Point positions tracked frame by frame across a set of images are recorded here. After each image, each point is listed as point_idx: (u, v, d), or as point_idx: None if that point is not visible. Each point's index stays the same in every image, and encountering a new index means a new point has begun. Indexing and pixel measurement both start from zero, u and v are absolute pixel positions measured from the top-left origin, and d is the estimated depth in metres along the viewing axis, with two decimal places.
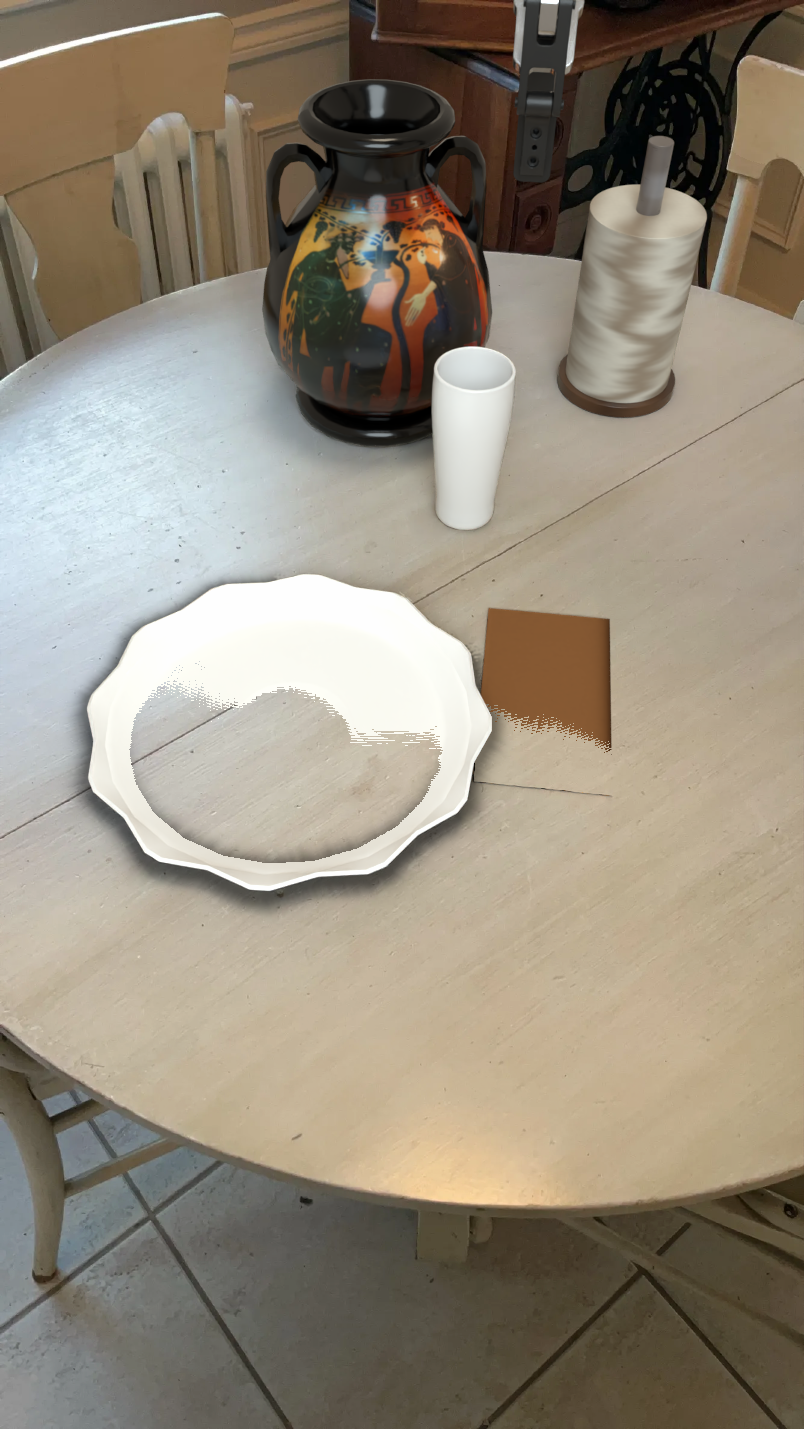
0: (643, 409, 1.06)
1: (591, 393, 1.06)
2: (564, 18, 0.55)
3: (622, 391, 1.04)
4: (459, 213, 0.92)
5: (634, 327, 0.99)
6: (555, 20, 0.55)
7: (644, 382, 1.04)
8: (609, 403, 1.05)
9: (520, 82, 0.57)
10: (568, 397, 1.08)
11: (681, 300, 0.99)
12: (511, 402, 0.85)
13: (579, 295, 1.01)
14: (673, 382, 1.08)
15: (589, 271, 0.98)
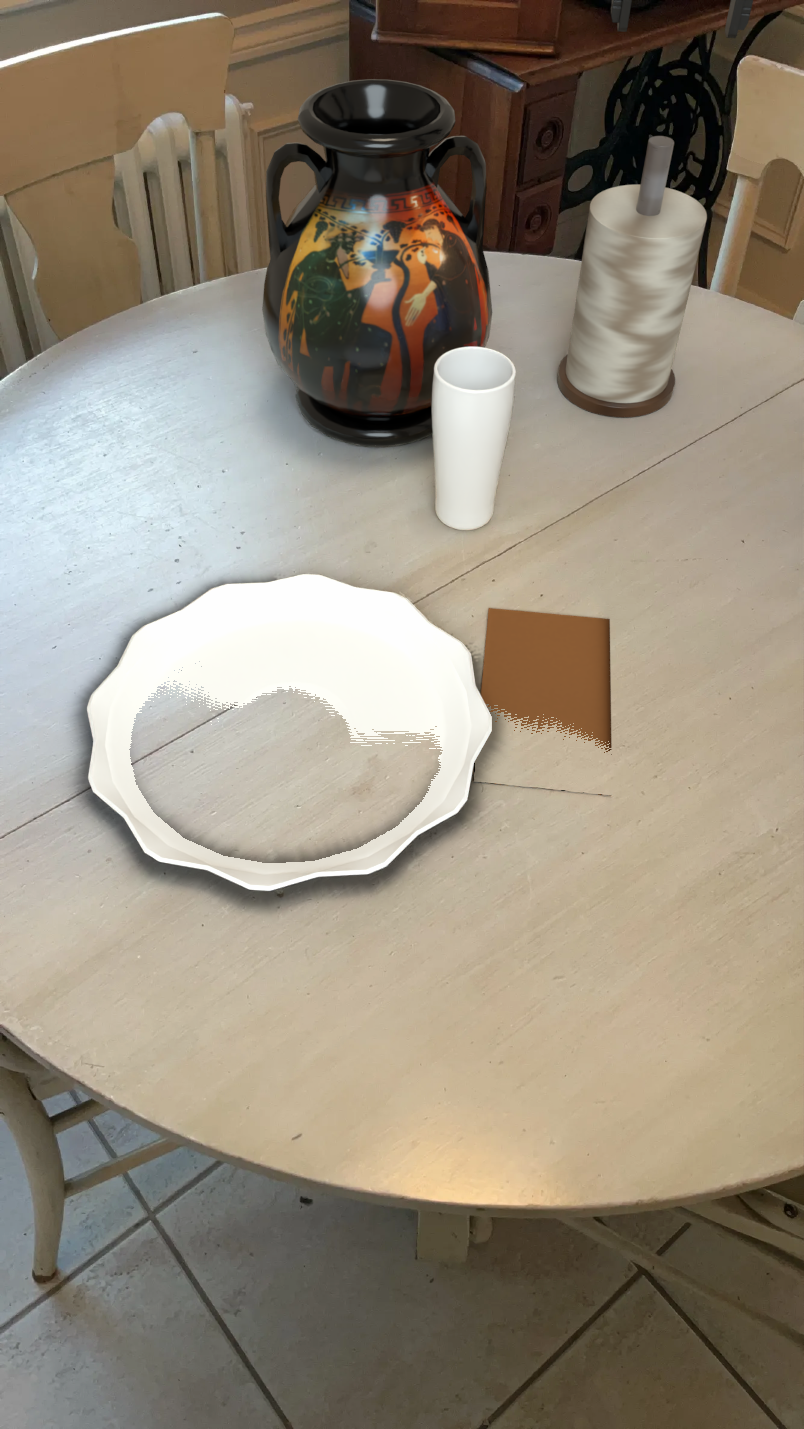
0: (643, 409, 1.06)
1: (591, 393, 1.06)
2: None
3: (622, 391, 1.04)
4: (459, 213, 0.92)
5: (634, 327, 0.99)
6: None
7: (644, 382, 1.04)
8: (609, 403, 1.05)
9: None
10: (568, 397, 1.08)
11: (681, 300, 0.99)
12: (511, 402, 0.85)
13: (579, 295, 1.01)
14: (673, 382, 1.08)
15: (589, 271, 0.98)
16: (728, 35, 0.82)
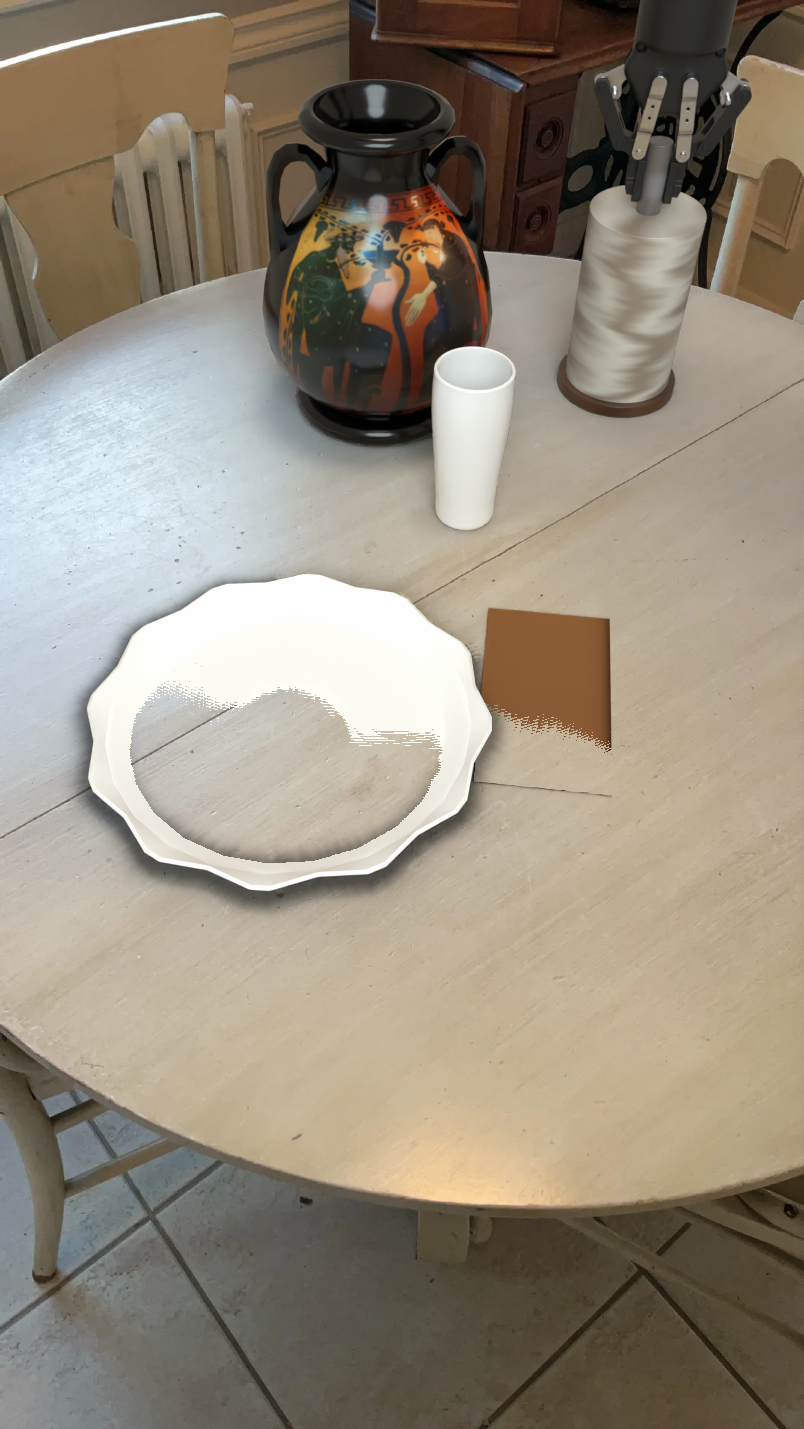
0: (643, 409, 1.06)
1: (591, 393, 1.06)
2: None
3: (622, 391, 1.04)
4: (459, 213, 0.92)
5: (634, 327, 0.99)
6: None
7: (644, 382, 1.04)
8: (609, 403, 1.05)
9: None
10: (568, 397, 1.08)
11: (681, 300, 0.99)
12: (511, 402, 0.85)
13: (579, 295, 1.01)
14: (673, 382, 1.08)
15: (589, 271, 0.98)
16: (663, 202, 0.94)
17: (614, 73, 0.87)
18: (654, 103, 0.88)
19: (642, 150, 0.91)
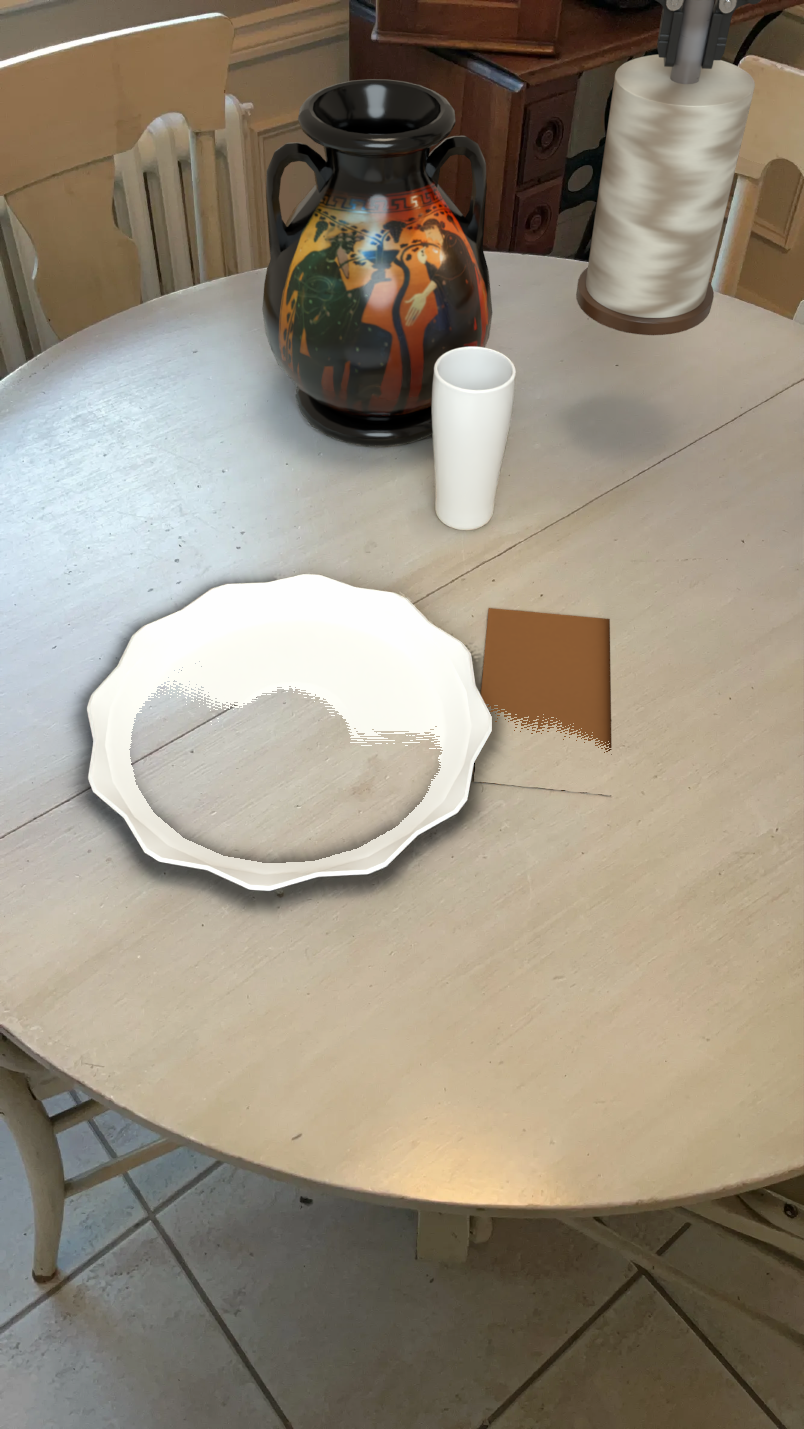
0: (676, 325, 0.90)
1: (616, 307, 0.91)
2: None
3: (652, 303, 0.89)
4: (459, 213, 0.92)
5: (667, 221, 0.84)
6: None
7: (678, 292, 0.89)
8: (636, 318, 0.90)
9: None
10: (588, 314, 0.92)
11: (723, 189, 0.84)
12: (511, 402, 0.85)
13: (602, 187, 0.86)
14: (712, 296, 0.93)
15: (614, 154, 0.83)
16: (703, 66, 0.79)
17: None
18: None
19: None
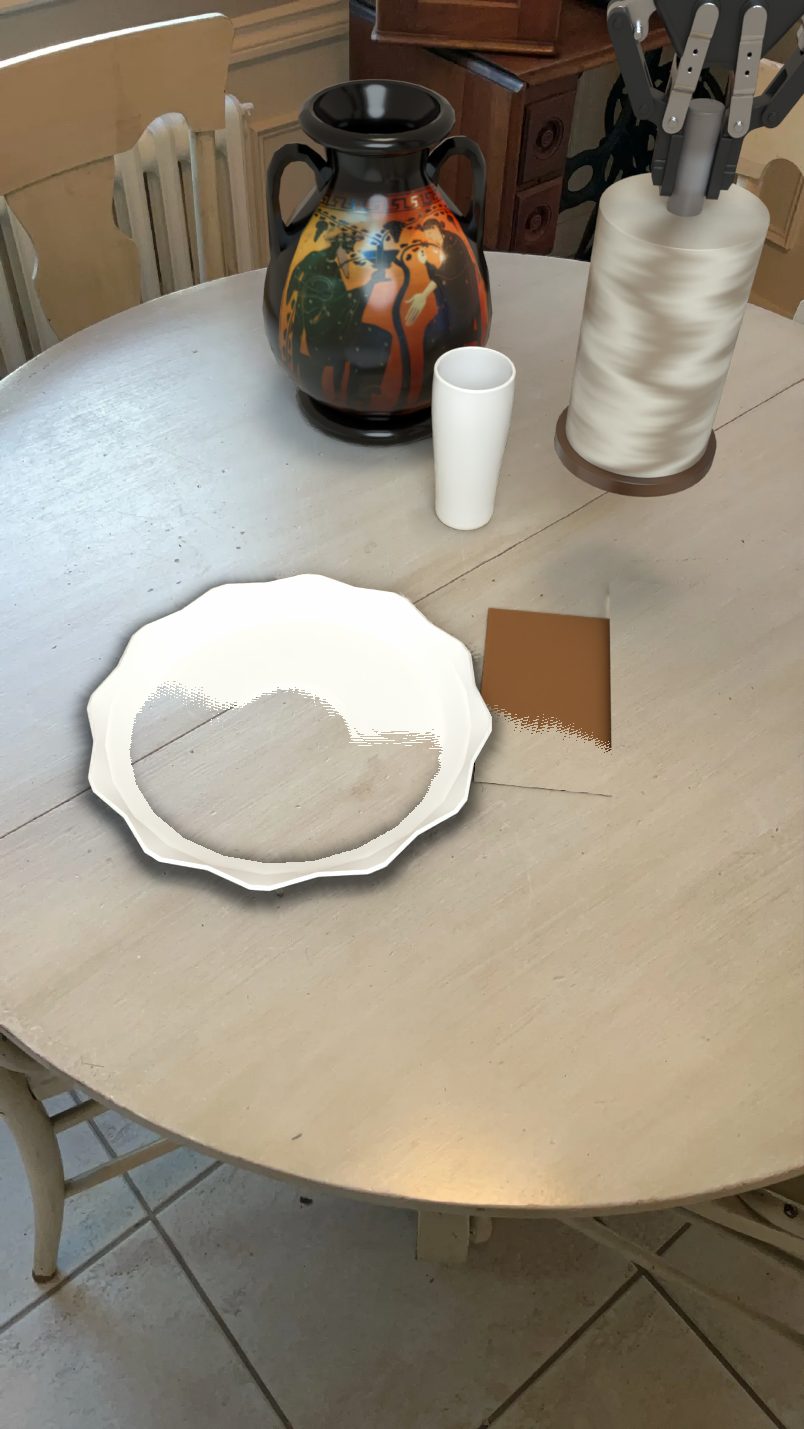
0: (672, 486, 0.76)
1: (600, 463, 0.76)
2: None
3: (644, 462, 0.75)
4: (459, 213, 0.92)
5: (662, 375, 0.69)
6: None
7: (674, 450, 0.74)
8: (625, 478, 0.76)
9: None
10: (568, 467, 0.78)
11: (730, 337, 0.69)
12: (511, 402, 0.85)
13: (584, 329, 0.72)
14: (714, 447, 0.78)
15: (598, 295, 0.68)
16: (708, 197, 0.64)
17: (637, 0, 0.58)
18: (698, 46, 0.58)
19: (678, 119, 0.61)
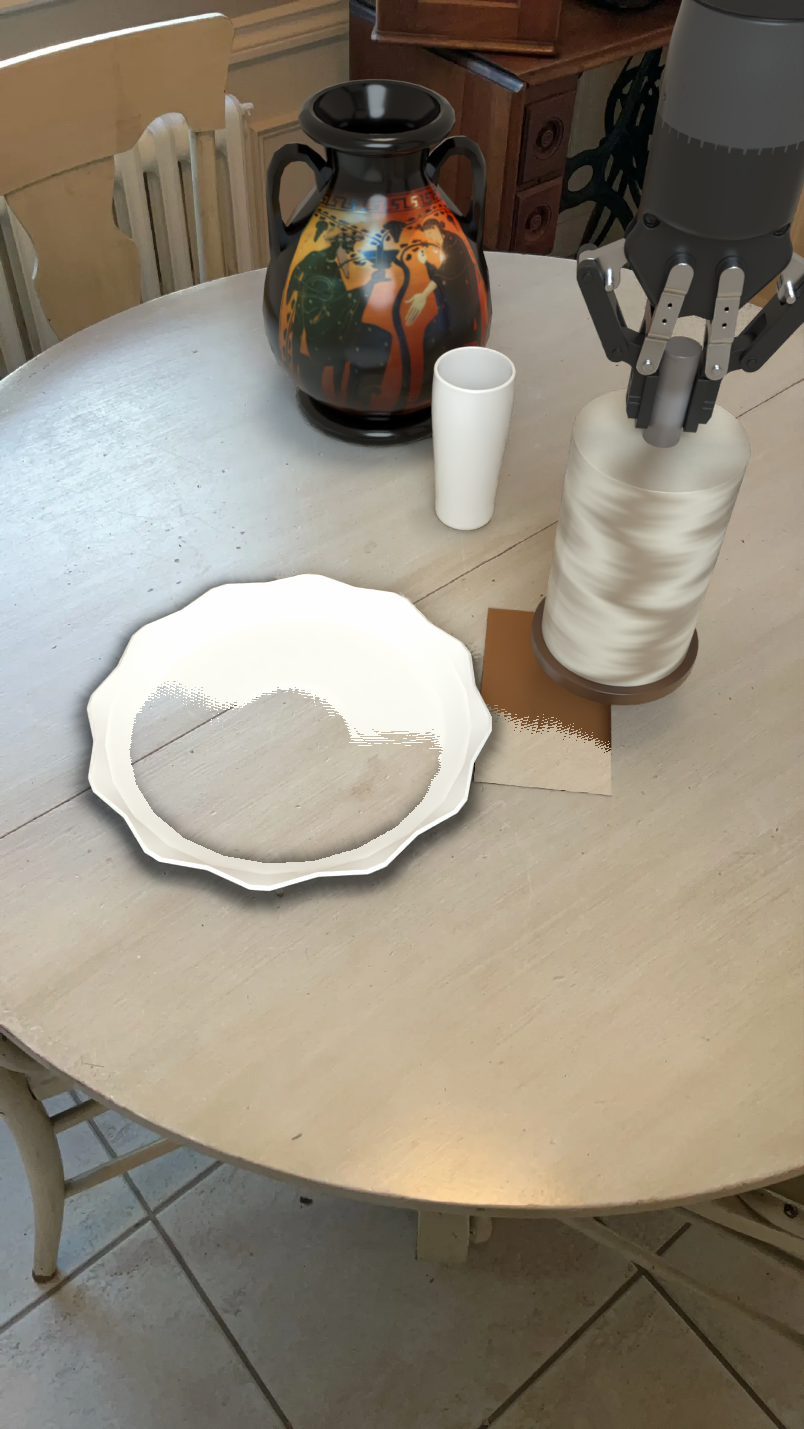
0: (653, 695, 0.73)
1: (578, 671, 0.73)
2: None
3: (623, 673, 0.72)
4: (459, 213, 0.92)
5: (640, 600, 0.66)
6: None
7: (654, 662, 0.71)
8: (603, 687, 0.73)
9: None
10: (545, 670, 0.75)
11: (711, 560, 0.66)
12: (511, 402, 0.85)
13: (559, 544, 0.69)
14: (696, 647, 0.75)
15: (572, 520, 0.65)
16: (685, 430, 0.61)
17: (608, 253, 0.55)
18: (672, 301, 0.55)
19: (653, 363, 0.58)
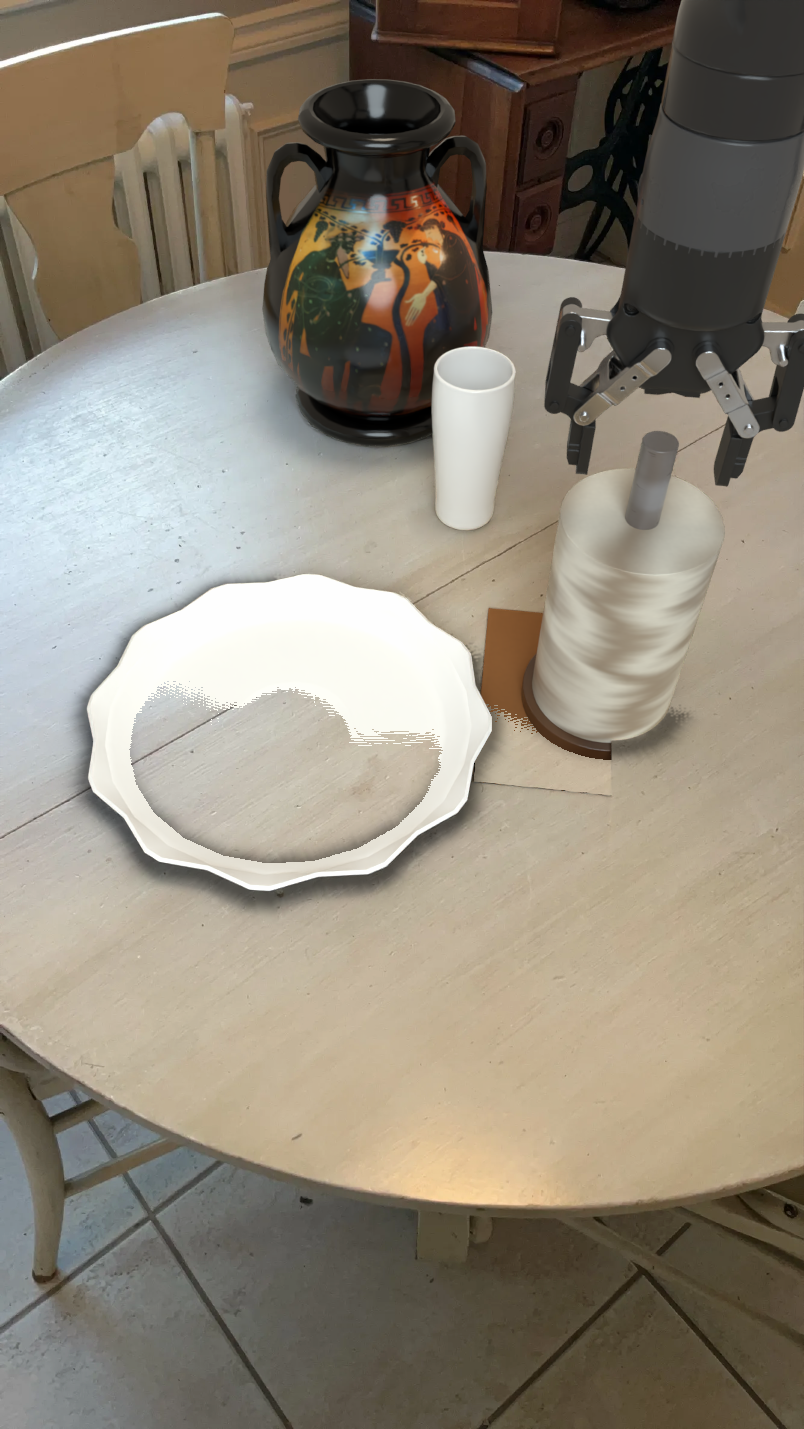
0: None
1: (565, 728, 0.78)
2: (557, 334, 0.58)
3: (607, 731, 0.76)
4: (459, 213, 0.92)
5: (623, 667, 0.71)
6: (557, 331, 0.58)
7: (637, 721, 0.76)
8: (589, 743, 0.77)
9: None
10: (535, 726, 0.80)
11: (689, 631, 0.71)
12: (511, 402, 0.85)
13: (547, 613, 0.73)
14: None
15: (560, 593, 0.70)
16: (717, 484, 0.64)
17: (594, 319, 0.57)
18: (639, 375, 0.58)
19: (589, 417, 0.61)
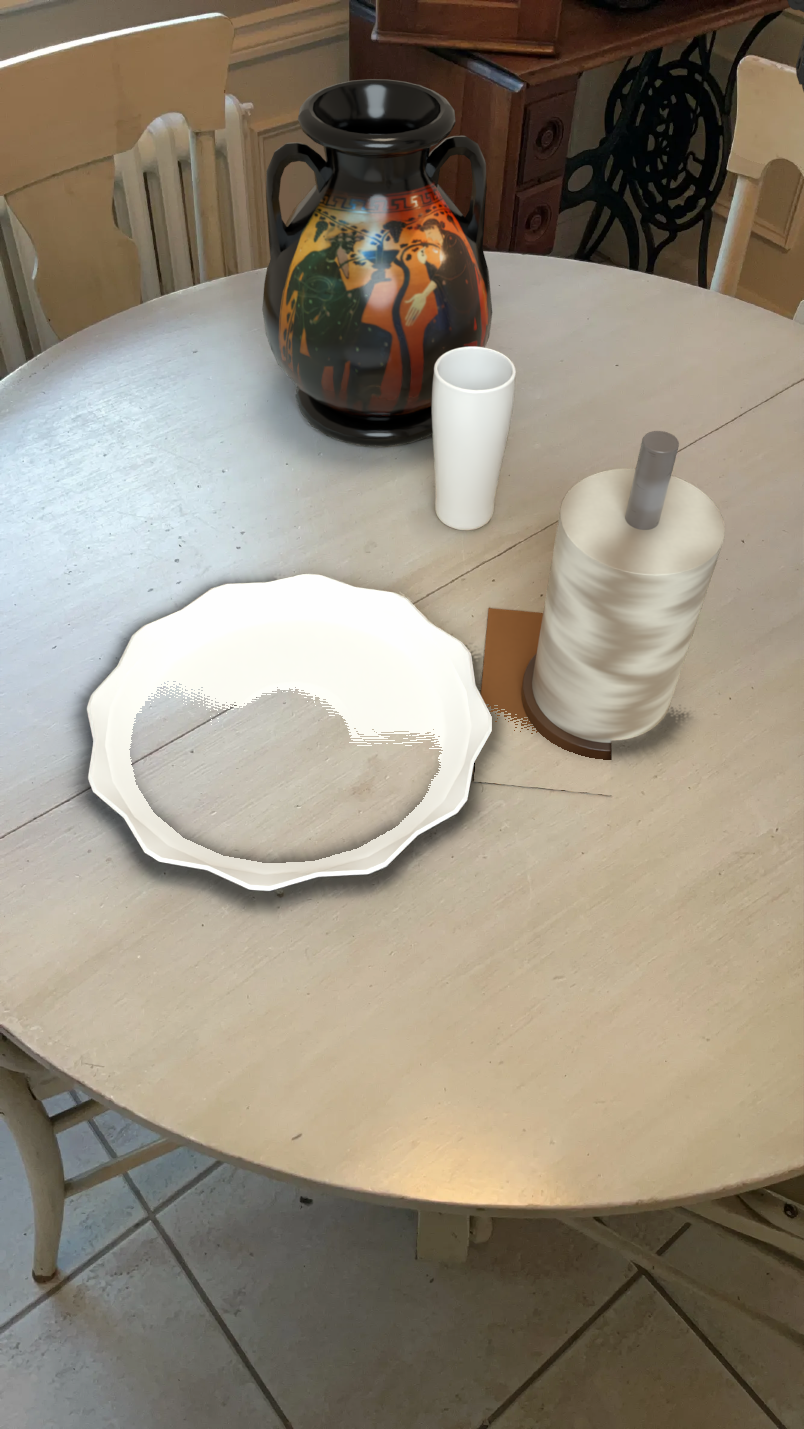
0: None
1: (565, 728, 0.78)
2: None
3: (607, 731, 0.76)
4: (459, 213, 0.92)
5: (623, 667, 0.71)
6: None
7: (637, 721, 0.76)
8: (589, 743, 0.77)
9: None
10: (535, 726, 0.80)
11: (689, 631, 0.71)
12: (511, 402, 0.85)
13: (547, 613, 0.73)
14: None
15: (560, 593, 0.70)
16: None
17: None
18: None
19: None
